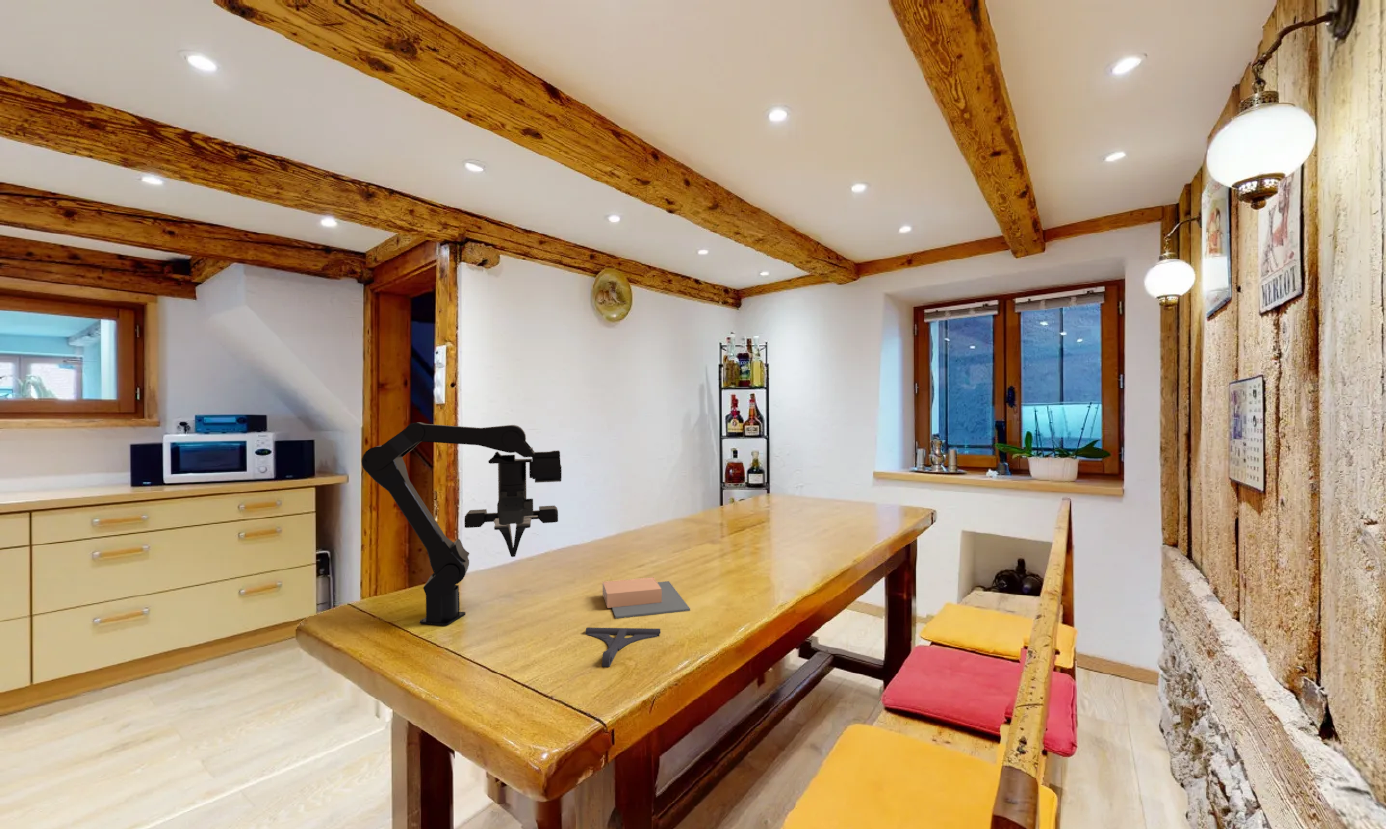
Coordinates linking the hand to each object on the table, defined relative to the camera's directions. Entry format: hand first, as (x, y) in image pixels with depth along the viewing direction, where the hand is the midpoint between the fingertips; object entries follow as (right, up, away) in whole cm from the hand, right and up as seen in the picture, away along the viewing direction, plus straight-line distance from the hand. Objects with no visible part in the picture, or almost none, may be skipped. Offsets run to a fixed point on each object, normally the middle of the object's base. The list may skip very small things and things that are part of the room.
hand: (513, 556), depth 119 cm
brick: (+19, -10, +5) cm, 22 cm away
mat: (+27, -12, +8) cm, 31 cm away
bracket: (+24, -13, -18) cm, 33 cm away
